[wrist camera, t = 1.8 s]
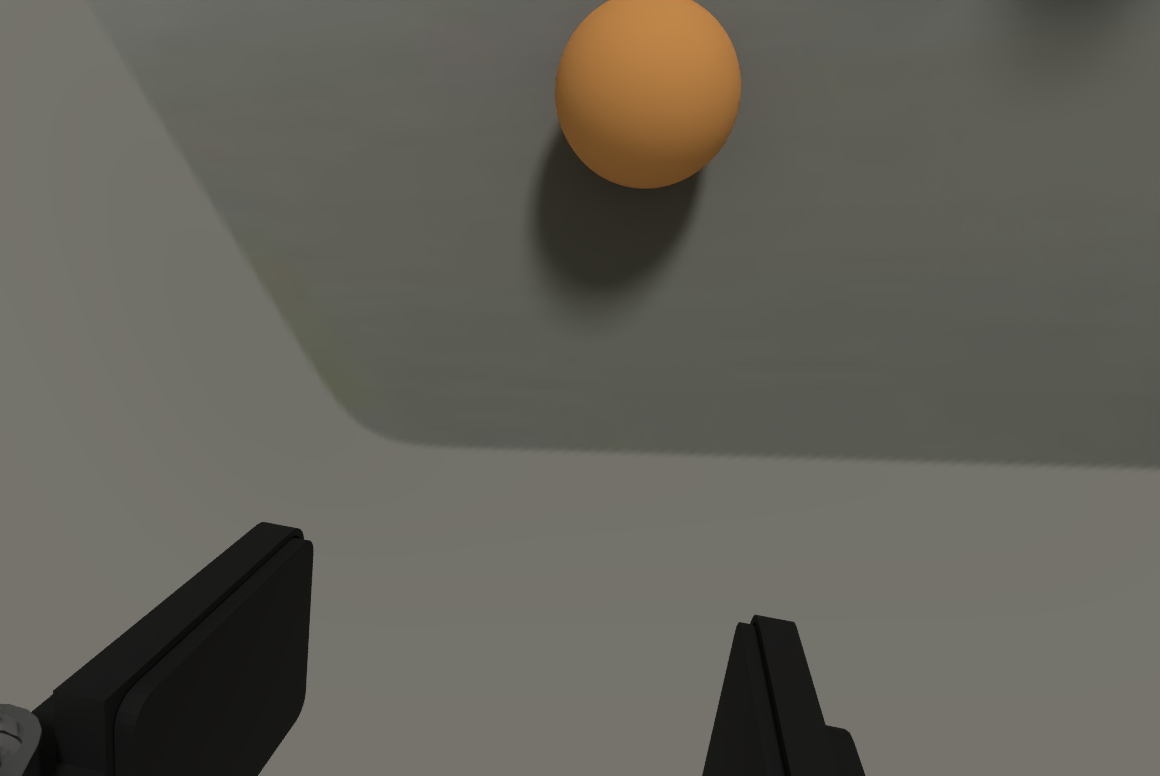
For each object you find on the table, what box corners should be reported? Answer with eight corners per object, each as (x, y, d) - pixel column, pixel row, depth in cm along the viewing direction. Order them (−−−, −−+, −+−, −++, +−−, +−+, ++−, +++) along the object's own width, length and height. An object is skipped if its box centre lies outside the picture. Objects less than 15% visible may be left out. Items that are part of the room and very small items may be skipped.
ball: (748, 25, 24) (770, -20, 19) (715, 200, 26) (727, 202, 20) (580, 3, 25) (556, -48, 19) (557, 176, 26) (529, 172, 21)
